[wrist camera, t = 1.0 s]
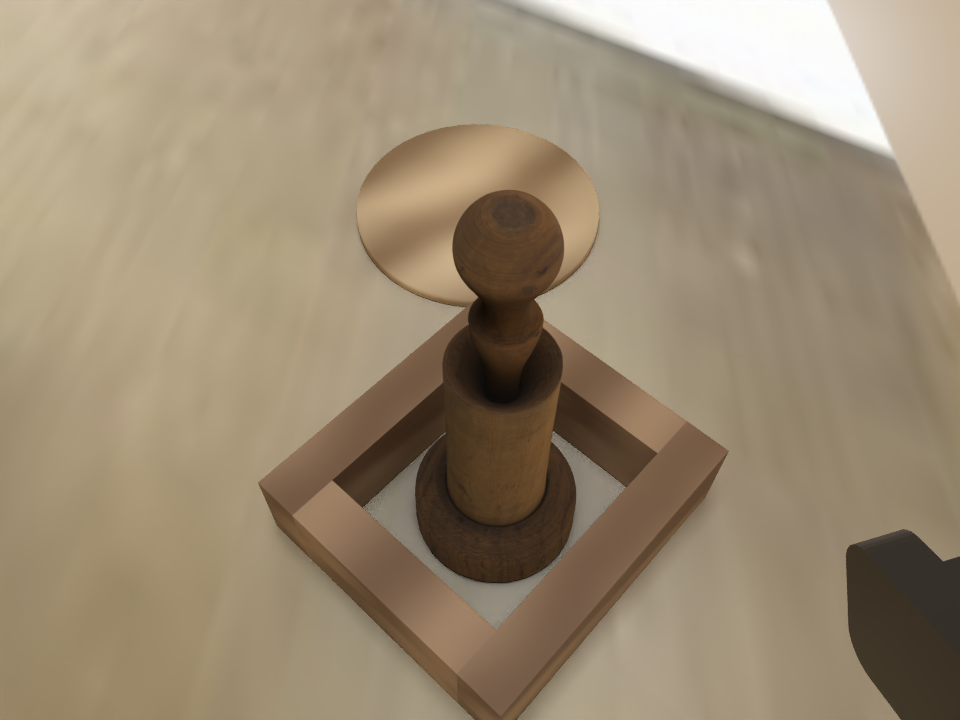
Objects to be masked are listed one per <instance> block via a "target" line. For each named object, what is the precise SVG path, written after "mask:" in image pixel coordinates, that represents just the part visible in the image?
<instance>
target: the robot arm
mask: <svg viewBox="0 0 960 720" xmlns="http://www.w3.org/2000/svg"><path fill="white" fill-rule="evenodd" d="M846 569H847V597H848V625H849V633H850V637H851V641H852V644H853V647H854V650H855V652H856V655H857V657H858V659H859V661H860V663H861V665H862V667H863V668H864V670H865V672H866V673H867V675H868V676H869V677H870V679H871V680H872V682H873V683H874V684H875V685H876V687H877V688H878V689H879V691H880V692H881V693H882V695H883V696H884V697H885V699H886V700H887V701H888V703H889V704H890V705H891V707H892V708H893V709H894V711H895V712H896V713H897V715H898V716H899V717H900V719H901V720H960V557H957V558H953V559H950V560H947V561H942V560H941V559H940V558H939V557H938V556H937V555H936V554H935V553H934V552H933V551H932V550H931V549H930V548H929V547H928V546H927V545H926V544H925V543H924V542H923V541H922V540H921V539H920V538H919V537H918V536H916V535H915V534H914V533H912V532H911V531H908V530H904V529H903V530H900V531H896V532H893V533H890V534H886V535H883V536H880V537H876V538H873V539H870V540H866V541H863V542H860V543H856V544H853V545H850V546H849V547H848V549H847V553H846Z"/></svg>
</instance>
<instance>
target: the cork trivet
mask: <svg viewBox="0 0 960 720" xmlns="http://www.w3.org/2000/svg"><path fill="white" fill-rule="evenodd" d="M500 190H518V191H522V192H526V193H528V194H531V195H533V196H535V197H536V198H538V199H539V200H541V201H542V202H543V203H545V204H546V205H547V206H548V207H549V209H550V210H551V211H552V212H553V214H554V215H555V217H556V218H557V220H558V222H559V224H560V227H561V230H562V234H563V238H564V257H563V262H562V266H561V268H560V271H559V273H558V275H557V277H556V278H555V280H554V281H553V282H552V284H551V285H550V286H549V287H548V288H547V289H546V290H545V291H544V292H543V293H545V292H547V291H549V290H551V289H553V288H554V287H556V286H558V285H559V284H561V283H562V282H563V281H565V280H566V279H567V278H569V277H570V276H571V275H572V274H573V273H574V272H575V271H576V270H577V269H578V268H579V267H580V266H581V264H582V263H583V262H584V260H585V259H586V258H587V256H588V254H589V252H590V250H591V248H592V246H593V244H594V241H595V237H596V234H597V229H598V222H599V202H598V198H597V195H596V191H595V189H594V186H593V184H592V182H591V180H590V178H589V177H588V175H587V174H586V172H585V171H584V169H583V168H582V167H581V166H580V165H579V164H578V163H577V161H576V160H574V159H573V158H572V157H571V156H570V155H569V154H568V153H566V152H565V151H563V150H562V149H561V148H559V147H558V146H556V145H554V144H553V143H551V142H549V141H547V140H545V139H543V138H541V137H538V136H536V135H533V134H531V133H528V132H524V131H521V130H518V129H513V128H508V127H503V126H495V125H475V124H473V125H458V126H452V127H445V128H441V129H437V130H433V131H430V132H427V133H424V134H421V135H418V136H416V137H414V138H412V139H410V140H407V141H405V142H404V143H402V144H400V145H399V146H397V147H395V148H394V149H392V150H391V151H390V152H389V153H387V154H386V155H385V156H384V157H383V158H382V159H381V160H380V161H379V162H378V163H377V164H376V165H375V166H374V167H373V168H372V170H371V171H370V172H369V174H368V175H367V177H366V179H365V181H364V183H363V185H362V187H361V190H360V193H359V196H358V202H357V222H358V228H359V233H360V237H361V240H362V243H363V245H364V248H365V250H366V252H367V253H368V255H369V256H370V258H371V260H372V261H373V262H374V264H375V265H376V266H377V267H378V268H379V269H380V270H381V271H382V272H383V273H384V274H385V275H386V276H387V277H388V278H390V279H391V280H392V281H394V282H395V283H397V284H398V285H400V286H401V287H403V288H404V289H406V290H408V291H410V292H412V293H414V294H416V295H418V296H421V297H424V298H427V299H430V300H432V301H436V302H440V303H445V304H449V305H456V306H464V307H467V306H469V305H470V304H471V303H472V302H473V301H475V300H476V299H477V298H478V296H477V295H476V294H475V293H474V292H472V291H471V290H470V289H469V288H468V287H467V285H466V284H465V283H464V282H463V280H462V279H461V277H460V275H459V274H458V272H457V269H456V267H455V264H454V260H453V253H452V243H453V236H454V232H455V229H456V226H457V224H458V221H459V220H460V218H461V216H462V215H463V213H464V212H465V210H466V209H467V208H468V207H469V206H470V205H471V204H472V203H474V202H475V201H476V200H478V199H479V198H481V197H482V196H484V195H486V194H489V193H492V192H495V191H500ZM543 293H541V294H543ZM541 294H540V295H541Z"/></svg>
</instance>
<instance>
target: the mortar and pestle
mask: <svg viewBox="0 0 960 720" xmlns="http://www.w3.org/2000/svg"><path fill="white" fill-rule="evenodd" d="M452 253H453V260H454V264H455V267H456V269H457V272H458V274H459V275H460V277H461V279H462V280H463V282H464V283H465V284H466V285H467V287H468V288H469V289H470V290H471V291H472V292H474V293H475V294H476V295H477V296H478V298H477V299H476V300H475V301H474V302H473V304H472V305H471V307H470V310H469V313H468V325H467V326H465V327H464V328H462V329H461V330H460V331H459V332H458V333H457V334H456V335H455V336H454V337H453V338H452V339H451V341H450V342H449V344H448V345H447V347H446V350H445V352H444V356H443V362H442V371H443V388H444V402H445V423H446V434H445V435H444V436H442V437H441V438H440V439H439V440H438V441H437V442H436V443H435V444H434V445H433V446H432V447H431V448H430V449H429V451H428V452H427V453H426V455H425V456H424V458H423V460H422V462H421V464H420V467H419V470H418V473H417V478H416V487H415V496H416V509H417V519H418V524H419V527H420V531H421V533H422V536H423V538H424V540H425V542H426V544H427V546H428V547H429V549H430V550H431V551H432V553H433V554H434V555H435V556H436V557H437V558H438V559H439V560H440V561H441V562H442V563H443V564H444V565H445V566H447V567H448V568H450V569H451V570H453V571H455V572H457V573H459V574H461V575H463V576H466V577H469V578H473V579H476V580H479V581H485V582H509V581H514V580H519V579H522V578H525V577H528V576H530V575H532V574H534V573H536V572H538V571H540V570H541V569H543V568H544V567H546V566H547V565H548V564H549V563H550V562H552V561H553V560H554V559H555V558H556V556H557V555H558V554H559V553H560V551H561V550H562V548H563V547H564V545H565V543H566V541H567V539H568V537H569V534H570V531H571V527H572V522H573V515H574V510H575V504H576V487H575V481H574V477H573V474H572V471H571V468H570V466H569V464H568V462H567V460H566V459H565V457H564V456H563V454H562V453H561V452H560V450H559V449H558V448H557V447H556V446H555V445H554V444H553V443H552V442H551V438H552V432H553V425H554V419H555V413H556V407H557V402H558V396H559V391H560V385H561V380H562V374H563V356H562V352H561V349H560V347H559V346H558V344H557V342H556V341H555V339H554V338H553V336H552V335H551V334H550V333H549V332H548V331H547V330H546V329H544V328H543V323H544V318H543V313H542V311H541V308H540V307H539V305H538V304H537V302H536V301H535V300H534V299H535V298H536V297H538V296H539V295H540V294H541V293H543V292H544V291H545V290H546V289H547V288H548V287H549V286H550V285H551V284H552V282H553V281H554V280H555V278H556V277H557V275H558V273H559V271H560V268H561V266H562V262H563V257H564V238H563V234H562V230H561V227H560V224H559V222H558V220H557V218H556V217H555V215H554V214H553V212H552V211H551V210H550V209H549V207H548V206H547V205H546V204H545V203H543V202H542V201H541V200H539V199H538V198H536V197H535V196H533V195H531V194H528V193H526V192H522V191H518V190H500V191H495V192H492V193H489V194H486V195H484V196H482V197H481V198H479V199H478V200H476V201H475V202H474V203H472V204H471V205H470V206H469V207H468V208H467V209H466V210H465V212H464V213H463V215H462V216H461V218H460V220H459V221H458V224H457V226H456V229H455V232H454V236H453V243H452Z"/></svg>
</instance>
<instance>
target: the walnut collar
mask: <svg viewBox="0 0 960 720" xmlns="http://www.w3.org/2000/svg"><path fill="white" fill-rule="evenodd" d="M473 302H474V301H473ZM473 302H472V303H471V304H470V305H469V306H467V307H466V308H465V309H464V310H463V311H462V312H460V313H459V314H458V315H457V316H456V317H454V318H453V319H452V320H451V321H450V322H448V323H447V324H446V325H445V326H444V327H443V328H441V329H440V330H439V331H438V332H437V333H435V334H434V335H433V336H432V337H431V338H429V339H428V340H427V341H426V342H425V343H424V344H422V345H421V346H420V347H419V348H418V349H416V350H415V351H414V352H413V353H412V354H410V355H409V356H408V357H407V358H406V359H404V360H403V361H402V362H401V363H400V364H399V365H397V366H396V367H395V368H394V369H393V370H391V371H390V372H389V373H388V374H387V375H385V376H384V377H383V378H382V379H381V380H380V381H378V382H377V383H376V384H375V385H374V386H372V387H371V388H370V389H369V390H368V391H366V392H365V393H364V394H363V395H362V396H361V397H359V398H358V399H357V400H356V401H355V402H353V403H352V404H351V405H350V406H349V407H347V408H346V409H345V410H344V411H343V412H342V413H340V414H339V415H338V416H337V417H336V418H334V419H333V420H332V421H331V422H330V423H328V424H327V425H326V426H325V427H324V428H323V429H321V430H320V431H319V432H318V433H317V434H315V435H314V436H313V437H312V438H311V439H309V440H308V441H307V442H306V443H305V444H304V445H302V446H301V447H300V448H299V449H298V450H296V451H295V452H294V453H293V454H292V455H290V456H289V457H288V458H287V459H286V460H285V461H283V462H282V463H281V464H280V465H279V466H277V467H276V468H275V469H274V470H273V471H271V472H270V473H269V474H268V475H267V476H266V477H264V478H263V479H262V480H261V481H260V482H258V484H259V486H260V488H261V490H262V493H263V495H264V497H265V499H266V502H267V504H268V506H269V508H270V510H271V513H272V515H273V517H274V519H275V522H276V524H277V526H278V527H279V528H280V529H281V530H282V531H283V532H284V533H285V534H286V535H287V536H288V537H289V538H290V539H291V540H292V541H293V542H295V543H296V544H297V545H298V546H299V547H300V548H301V549H302V550H303V551H304V552H305V553H306V554H307V555H308V556H309V557H310V558H311V559H312V560H313V561H314V562H315V563H316V564H317V565H318V566H319V567H320V568H321V569H322V570H323V571H324V572H325V573H326V574H327V575H328V576H329V577H330V578H331V579H332V580H333V581H334V582H335V583H336V584H337V585H338V586H339V587H340V588H341V589H342V590H343V591H345V592H346V593H347V594H348V595H349V596H350V597H351V598H352V599H353V600H354V601H355V602H356V603H357V604H358V605H359V606H360V607H361V608H362V609H363V610H364V611H365V612H366V613H367V614H368V615H369V616H370V617H371V618H372V619H373V620H374V621H375V622H376V623H377V624H378V625H379V626H380V627H381V628H382V629H383V630H384V631H385V632H386V633H387V634H388V635H389V636H390V637H391V638H392V639H394V640H395V641H396V642H397V643H398V644H399V645H400V646H401V647H402V648H403V649H404V650H405V651H406V652H407V653H408V654H409V655H410V656H411V657H412V658H413V659H414V660H415V661H416V662H417V663H418V664H419V665H420V666H421V667H422V668H423V669H424V670H425V671H426V672H427V673H428V674H429V675H430V676H431V677H432V678H433V679H434V680H435V681H436V682H437V683H438V684H439V685H440V686H441V687H442V688H444V689H445V690H446V691H447V692H448V693H449V694H450V695H451V696H452V697H453V698H454V699H455V700H456V701H457V702H458V703H459V704H460V705H461V706H462V707H463V708H464V709H465V710H466V711H467V712H468V713H469V714H470V715H471V716H472V717H473V718H474V719H475V720H516V719H517V718H518V717H519V716H520V715H521V713H522V712H523V711H524V710H525V709H526V708H527V706H528V705H529V704H530V703H531V702H532V700H533V699H534V698H535V697H536V696H537V695H538V693H539V692H540V691H541V690H542V689H543V687H544V686H545V685H546V684H547V683H548V682H549V680H550V679H551V678H552V677H553V676H554V675H555V673H556V672H557V671H558V670H559V669H560V667H561V666H562V665H563V664H564V663H565V662H566V660H567V659H568V658H569V657H570V656H571V654H572V653H573V652H574V651H575V650H576V649H577V647H578V646H579V645H580V644H581V643H582V641H583V640H584V639H585V638H586V637H587V636H588V634H589V633H590V632H591V631H592V630H593V628H594V627H595V626H596V625H597V624H598V623H599V621H600V620H601V619H602V618H603V617H604V616H605V614H606V613H607V612H608V611H609V610H610V608H611V607H612V606H613V605H614V604H615V603H616V601H617V600H618V599H619V598H620V597H621V595H622V594H623V593H624V592H625V591H626V590H627V588H628V587H629V586H630V585H631V584H632V582H633V581H634V580H635V579H636V578H637V577H638V575H639V574H640V573H641V572H642V571H643V569H644V568H645V567H646V566H647V565H648V564H649V562H650V561H651V560H652V559H653V558H654V557H655V555H656V554H657V553H658V552H659V551H660V549H661V548H662V547H663V546H664V545H665V544H666V542H667V541H668V540H669V539H670V538H671V536H672V535H673V534H674V533H675V532H676V531H677V529H678V528H679V527H680V526H681V525H682V523H683V522H684V521H685V520H686V519H687V518H688V516H689V515H690V514H691V513H692V512H693V510H694V509H695V508H696V507H697V506H698V505H699V503H700V502H701V501H702V500H703V499H704V497H705V496H706V495H707V493H708V491H709V489H710V487H711V485H712V483H713V481H714V479H715V477H716V475H717V473H718V471H719V469H720V467H721V465H722V463H723V461H724V459H725V458H726V456H727V454H728V452H729V451H728V450H727V449H725V448H724V447H722V446H721V445H720V444H718V443H717V442H715V441H714V440H713V439H711V438H710V437H708V436H707V435H706V434H704V433H703V432H701V431H700V430H699V429H697V428H696V427H694V426H693V425H691V424H690V423H689V422H687V421H686V420H684V419H683V418H682V417H680V416H679V415H677V414H676V413H675V412H673V411H672V410H670V409H669V408H668V407H666V406H665V405H663V404H662V403H661V402H659V401H658V400H656V399H655V398H653V397H652V396H651V395H649V394H648V393H646V392H645V391H644V390H642V389H641V388H639V387H638V386H637V385H635V384H634V383H632V382H631V381H630V380H628V379H627V378H625V377H624V376H623V375H621V374H620V373H618V372H617V371H615V370H614V369H613V368H611V367H610V366H608V365H607V364H606V363H604V362H603V361H601V360H600V359H599V358H597V357H596V356H594V355H593V354H592V353H590V352H589V351H587V350H586V349H584V348H583V347H582V346H580V345H579V344H577V343H576V342H575V341H573V340H572V339H570V338H569V337H568V336H566V335H565V334H563V333H562V332H561V331H559V330H558V329H556V328H555V327H554V326H552V325H551V324H549V323H548V322H546V321H545V320H544V323H543V328H544V329H546V330H547V331H548V332H549V333H550V334H551V335H552V336H553V338H554V339H555V341H556V342H557V344H558V346H559V347H560V349H561V352H562V356H563V374H562V380H561V385H560V391H559V396H558V402H557V407H556V413H555V419H554V425H553V430H554V431H555V432H556V433H558V434H559V435H560V436H562V437H563V438H564V439H565V440H567V441H568V442H569V443H571V444H572V445H573V446H575V447H576V448H577V449H578V450H580V451H581V452H582V453H584V454H585V455H586V456H588V457H589V458H590V459H591V460H593V461H594V462H595V463H597V464H598V465H599V466H601V467H602V468H603V469H604V470H606V471H607V472H608V473H610V474H611V475H612V476H614V477H615V478H616V479H617V480H619V481H620V482H621V483H623V484H624V485H625V486H627V488H626V489H625V490H624V491H623V492H622V493H621V494H620V495H619V496H618V497H617V499H616V500H615V501H614V502H613V503H612V504H611V505H610V506H609V507H608V508H607V510H606V511H605V512H604V513H603V514H602V515H601V516H600V517H599V518H598V519H597V521H596V522H595V523H594V524H593V525H592V526H591V527H590V528H589V529H588V530H587V531H586V533H585V534H584V535H583V536H582V537H581V538H580V539H579V540H578V541H577V542H576V544H575V545H574V546H573V547H572V548H571V549H570V550H569V551H568V552H567V553H566V555H565V556H564V557H563V558H562V559H561V560H560V561H559V562H558V563H557V564H556V566H555V567H554V568H553V569H552V570H551V571H550V572H549V573H548V574H547V575H546V576H545V578H544V579H543V580H542V581H541V582H540V583H539V584H538V585H537V586H536V587H535V589H534V590H533V591H532V592H531V593H530V594H529V595H528V596H527V597H526V598H525V600H524V601H523V602H522V603H521V604H520V605H519V606H518V607H517V608H516V609H515V610H514V612H513V613H512V614H511V615H510V616H509V617H508V618H507V619H506V620H505V621H504V623H503V624H502V625H501V626H500V627H499V628H498V629H497V630H495V629H494V628H493V627H492V626H491V625H490V624H489V623H488V622H487V621H485V620H484V619H483V618H482V617H481V616H480V615H479V614H478V613H477V612H476V611H475V610H473V609H472V608H471V607H470V606H469V605H468V604H467V603H466V602H465V601H464V600H462V599H461V598H460V597H459V596H458V595H457V594H456V593H455V592H454V591H453V590H452V589H450V588H449V587H448V586H447V585H446V584H445V583H444V582H443V581H442V580H441V579H440V578H438V577H437V576H436V575H435V574H434V573H433V572H432V571H431V570H430V569H429V568H428V567H426V566H425V565H424V564H423V563H422V562H421V561H420V560H419V559H418V558H417V557H415V556H414V555H413V554H412V553H411V552H410V551H409V550H408V549H407V548H406V547H405V546H403V545H402V544H401V543H400V542H399V541H398V540H397V539H396V538H395V537H394V536H393V535H391V534H390V533H389V532H388V531H387V530H386V529H385V528H384V527H383V526H382V525H380V524H379V523H378V522H377V521H376V520H375V519H374V518H373V517H372V516H371V515H370V514H368V513H367V512H366V511H365V510H364V509H363V508H362V507H363V506H364V505H365V504H366V503H367V502H368V501H370V500H371V499H372V498H373V497H374V496H375V495H376V494H377V493H378V492H379V491H380V490H382V489H383V488H384V487H385V486H386V485H387V484H388V483H389V482H390V481H391V480H392V479H394V478H395V477H396V476H397V475H398V474H399V473H400V472H401V471H402V470H403V469H404V468H406V467H407V466H408V465H409V464H410V463H411V462H412V461H413V460H414V459H415V458H416V457H418V456H419V455H420V454H421V453H422V452H423V451H424V450H425V449H426V448H427V447H428V446H430V445H431V444H432V443H433V442H434V441H435V440H436V439H437V438H438V437H439V436H440V435H442V434H443V433H444V432H445V431H446V423H445V402H444V388H443V371H442V362H443V356H444V352H445V350H446V347H447V345H448V344H449V342H450V341H451V339H452V338H453V337H454V336H455V335H456V334H457V333H458V332H459V331H460V330H461V329H462V328H464V327H465V326H467V325H468V313H469V310H470V307H471V305H472V304H473Z"/></svg>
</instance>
